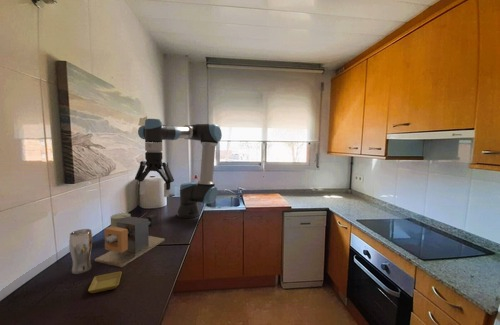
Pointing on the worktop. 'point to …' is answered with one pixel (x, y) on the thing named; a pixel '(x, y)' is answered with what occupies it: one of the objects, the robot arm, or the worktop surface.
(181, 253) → the worktop surface
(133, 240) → the block
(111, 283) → the saucer
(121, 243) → the strip
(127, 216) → the can
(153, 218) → the shaft
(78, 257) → the beer glass
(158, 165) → the robot arm
